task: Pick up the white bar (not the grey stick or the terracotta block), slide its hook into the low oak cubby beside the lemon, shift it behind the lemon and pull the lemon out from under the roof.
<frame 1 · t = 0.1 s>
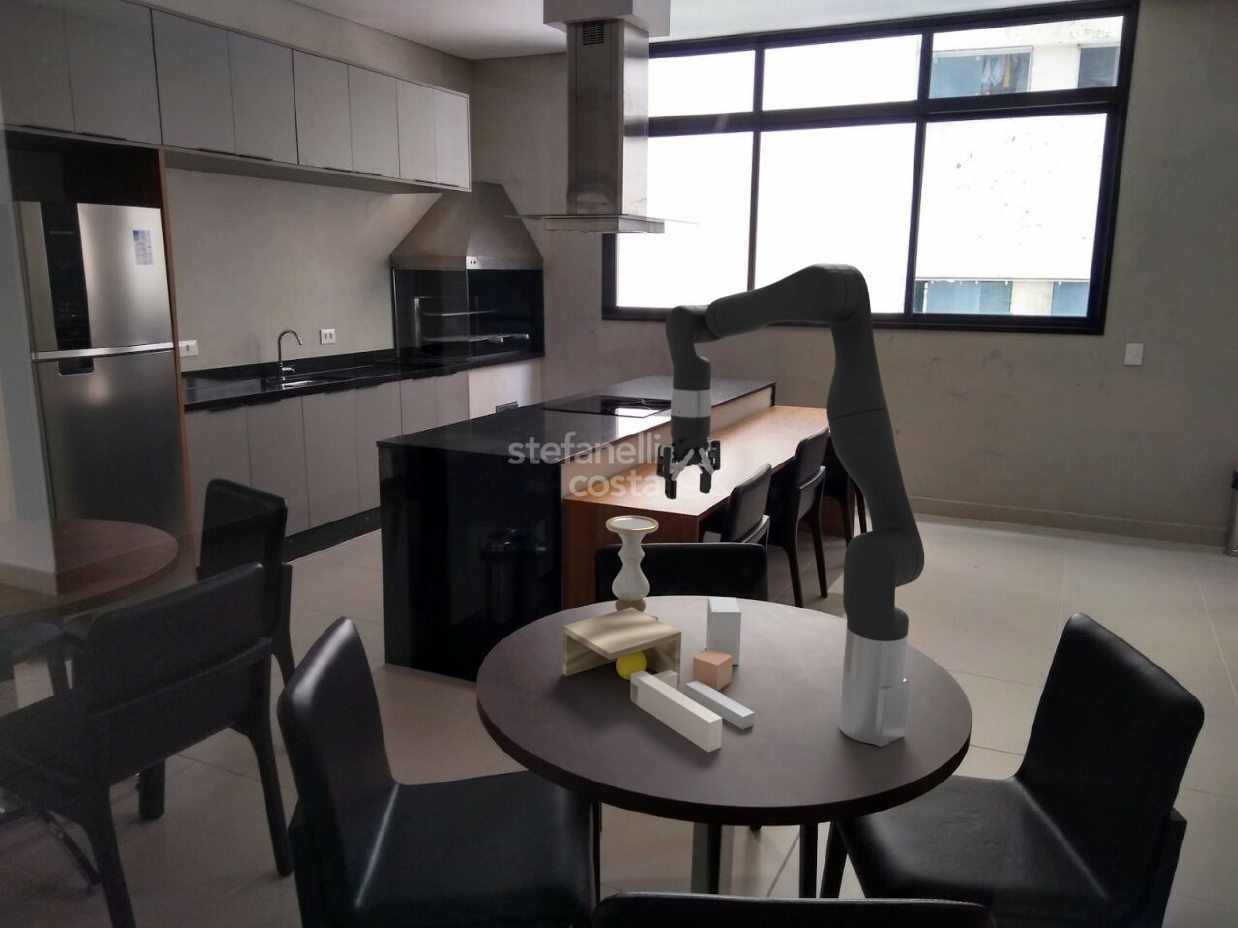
hand: (688, 495, 170), 29 cm above the table, tool pointing down, fingers open, 8 cm apart
white bar: (673, 723, 143), on the table
candle holder: (629, 638, 176), on the table
lemon: (631, 678, 159), on the table
grey stick: (718, 711, 147), on the table
terracotta block: (712, 682, 157), on the table
small box: (721, 657, 168), on the table
cubby: (621, 676, 158), on the table
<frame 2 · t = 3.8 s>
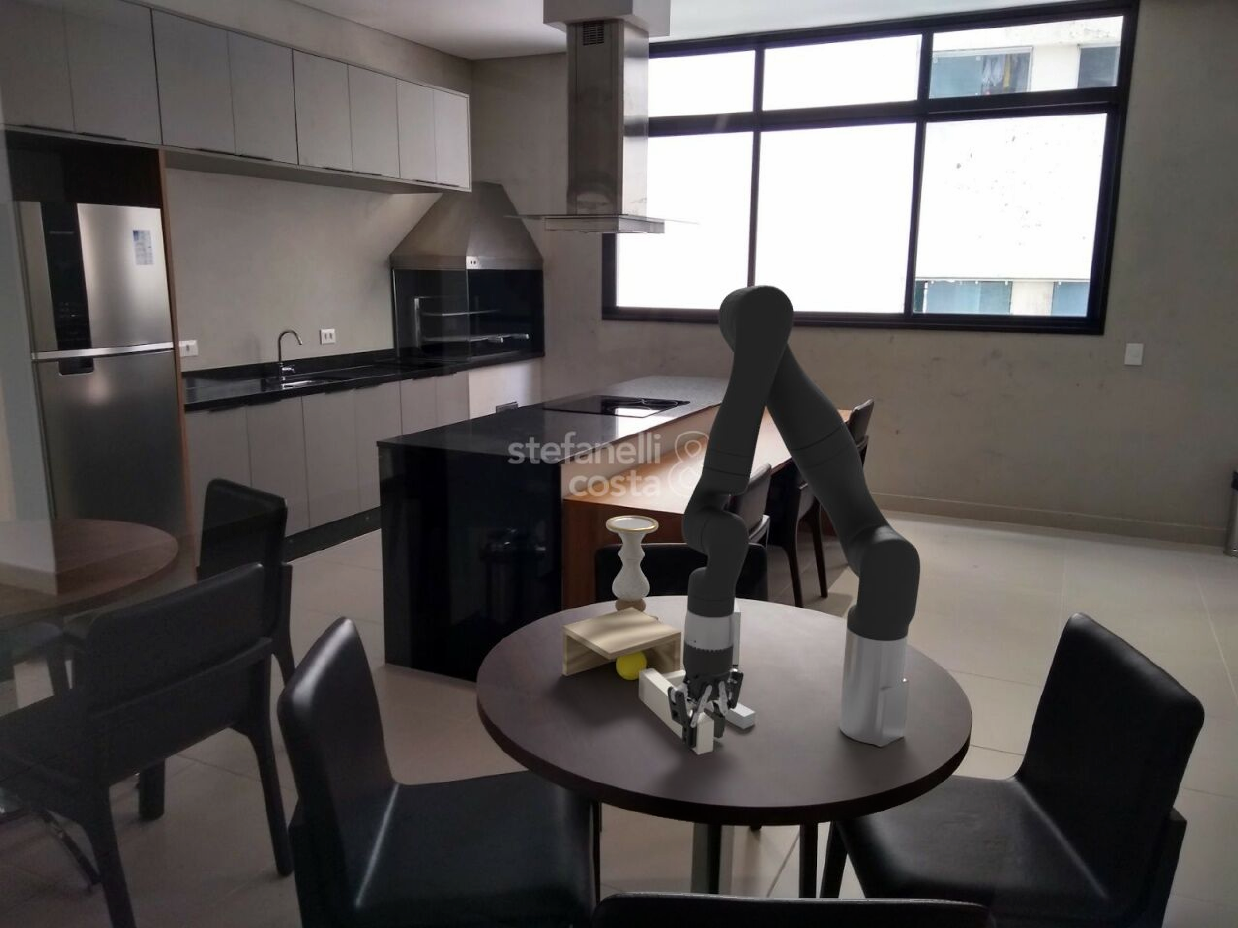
hand: (703, 740, 136), 1 cm above the table, tool pointing down, fingers open, 5 cm apart
white bar: (673, 722, 143), on the table, touching gripper
everything else where it was.
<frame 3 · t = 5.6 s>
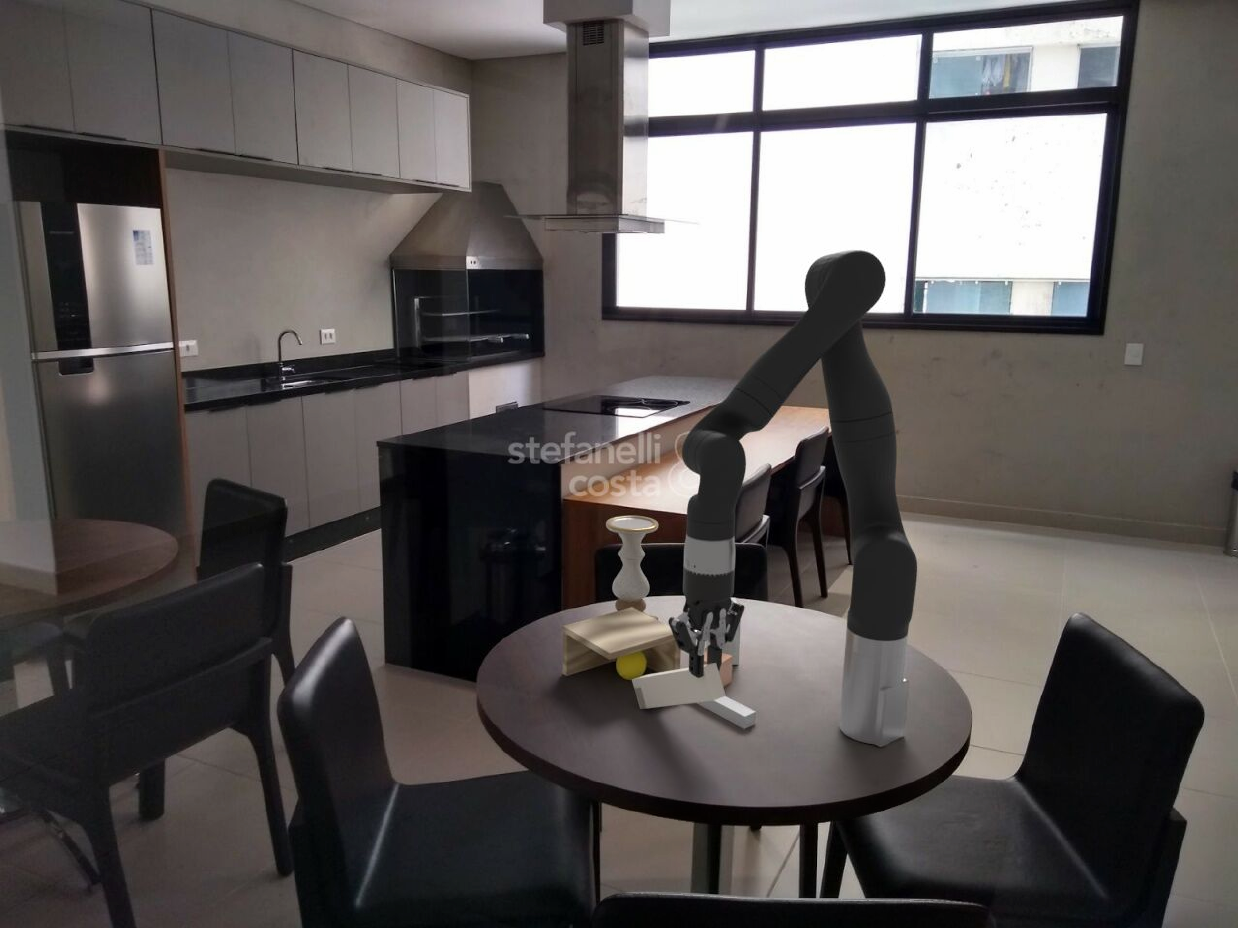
hand: (705, 672, 133), 12 cm above the table, tool pointing down, fingers closed on white bar, 2 cm apart
white bar: (680, 702, 139), point 5 cm above the table, tilted 27°, touching gripper
everything else where it was.
when the fingers open (1 cm above the table, at t = 15.1 s): white bar stays where it is, on the table.
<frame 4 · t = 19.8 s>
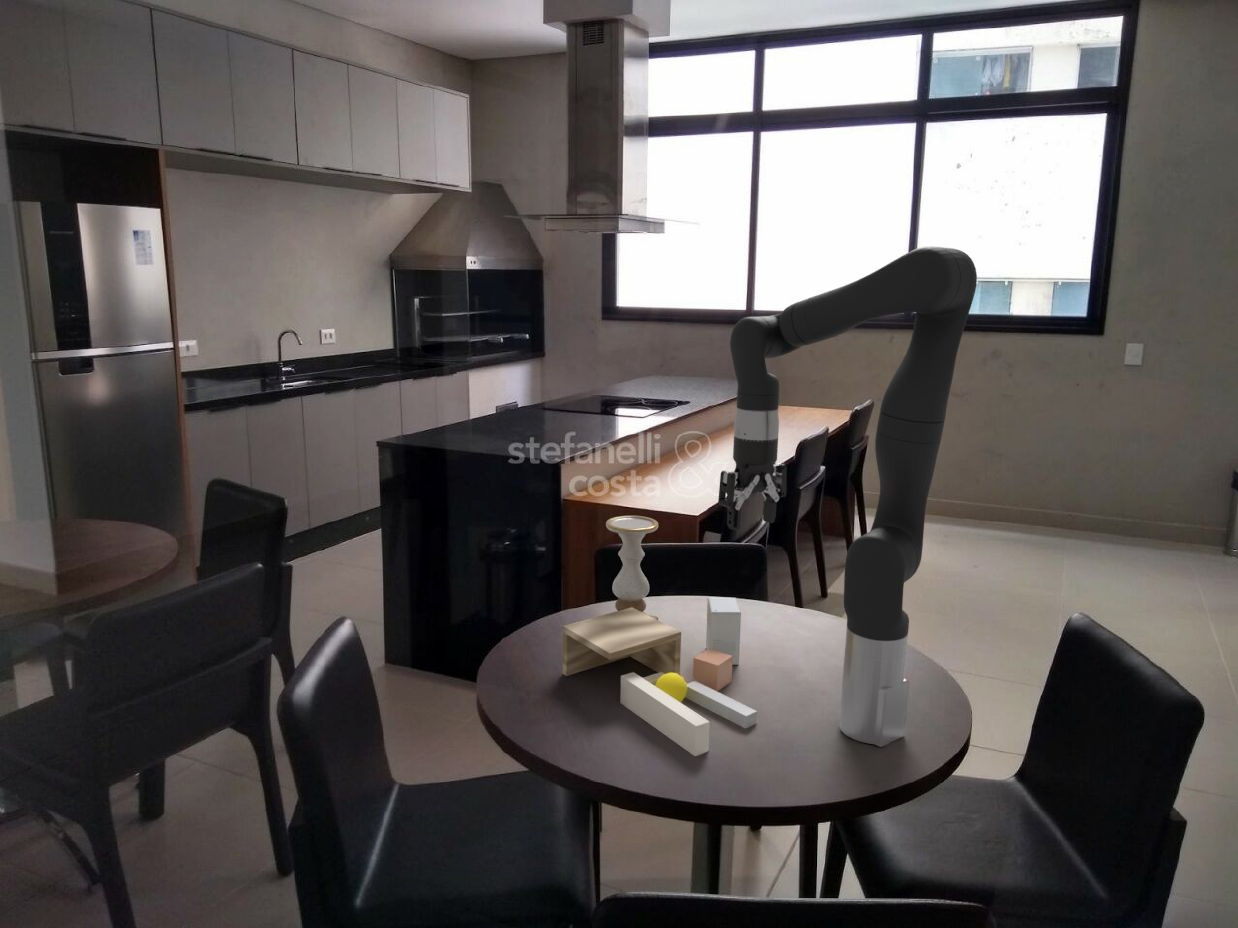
hand: (751, 525, 154), 28 cm above the table, tool pointing down, fingers open, 8 cm apart
white bar: (662, 726, 142), on the table
lemon: (670, 704, 149), on the table
everything else where it was.
at the end: lemon inside the target area (4.3 cm from its centre), on the table; lemon moved 11.7 cm from its start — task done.
